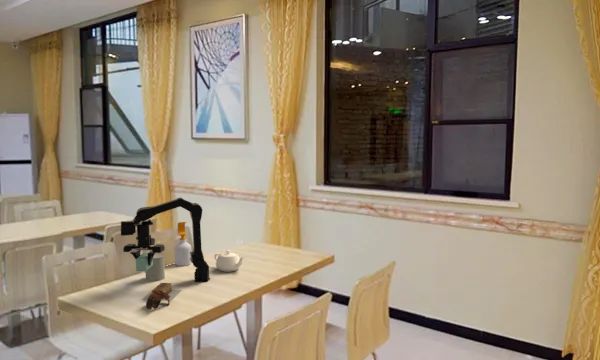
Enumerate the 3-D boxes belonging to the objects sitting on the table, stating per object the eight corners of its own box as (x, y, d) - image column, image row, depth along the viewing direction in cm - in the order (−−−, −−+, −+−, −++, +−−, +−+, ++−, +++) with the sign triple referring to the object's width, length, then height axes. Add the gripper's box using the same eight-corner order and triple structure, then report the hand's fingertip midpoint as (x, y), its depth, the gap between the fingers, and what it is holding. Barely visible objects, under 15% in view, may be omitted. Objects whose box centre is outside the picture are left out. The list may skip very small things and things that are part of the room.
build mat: (182, 291, 230) (181, 290, 230) (171, 301, 216) (171, 300, 216) (153, 290, 232) (153, 289, 232) (141, 300, 218) (141, 299, 218)
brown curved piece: (144, 305, 214) (153, 287, 216) (164, 313, 215) (173, 296, 217) (142, 308, 202) (151, 289, 204) (163, 317, 204) (172, 298, 205)
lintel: (144, 264, 241) (143, 252, 240) (153, 264, 241) (152, 252, 240) (136, 271, 230) (135, 259, 229) (145, 271, 230) (145, 259, 229)
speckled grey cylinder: (159, 282, 243) (158, 258, 241) (142, 281, 245) (141, 257, 243) (168, 276, 252) (167, 253, 251) (151, 275, 254) (150, 253, 252)
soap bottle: (177, 267, 269) (176, 223, 266) (173, 262, 277) (172, 220, 274) (193, 264, 273) (192, 222, 271) (189, 260, 281) (188, 219, 279)
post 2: (171, 291, 229) (171, 283, 229) (167, 294, 224) (167, 286, 224) (161, 290, 230) (161, 282, 229) (157, 294, 225) (156, 286, 224)
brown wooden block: (167, 295, 224) (166, 286, 223) (162, 299, 219) (162, 290, 218) (156, 294, 224) (156, 286, 224) (152, 298, 219) (151, 290, 219)
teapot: (206, 269, 265) (205, 250, 264) (223, 263, 276) (223, 245, 275) (236, 276, 253) (235, 256, 251) (253, 270, 264) (252, 250, 262)
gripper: (168, 230, 240) (169, 261, 242) (132, 230, 242) (133, 260, 244) (159, 235, 229) (160, 267, 231) (122, 235, 231) (123, 266, 233)
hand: (144, 265), depth 235 cm, fingers closed on lintel, 5 cm apart
